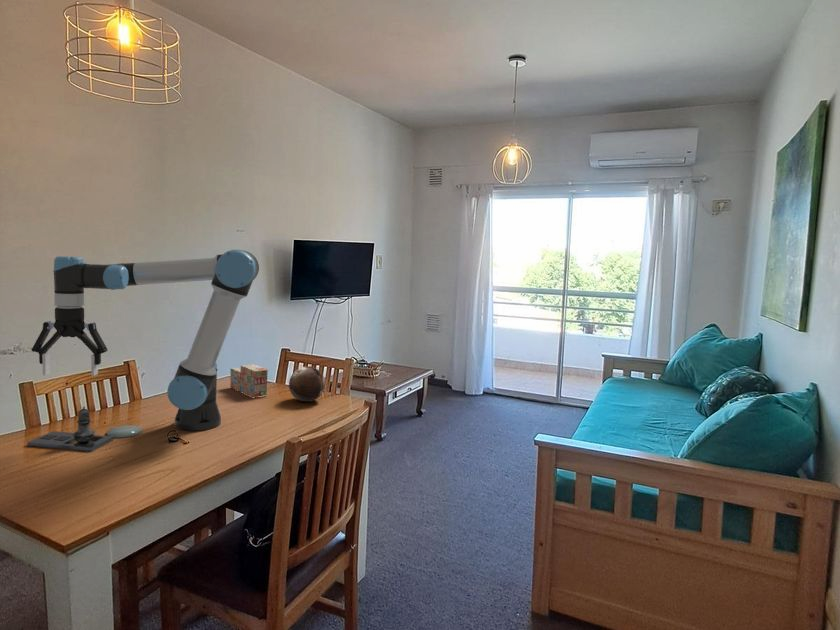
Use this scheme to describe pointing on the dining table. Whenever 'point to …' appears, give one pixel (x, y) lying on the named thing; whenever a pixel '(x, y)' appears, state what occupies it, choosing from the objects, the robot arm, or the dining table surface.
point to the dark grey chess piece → (83, 429)
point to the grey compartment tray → (68, 441)
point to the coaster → (124, 431)
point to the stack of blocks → (249, 380)
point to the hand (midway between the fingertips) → (70, 374)
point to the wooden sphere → (307, 383)
